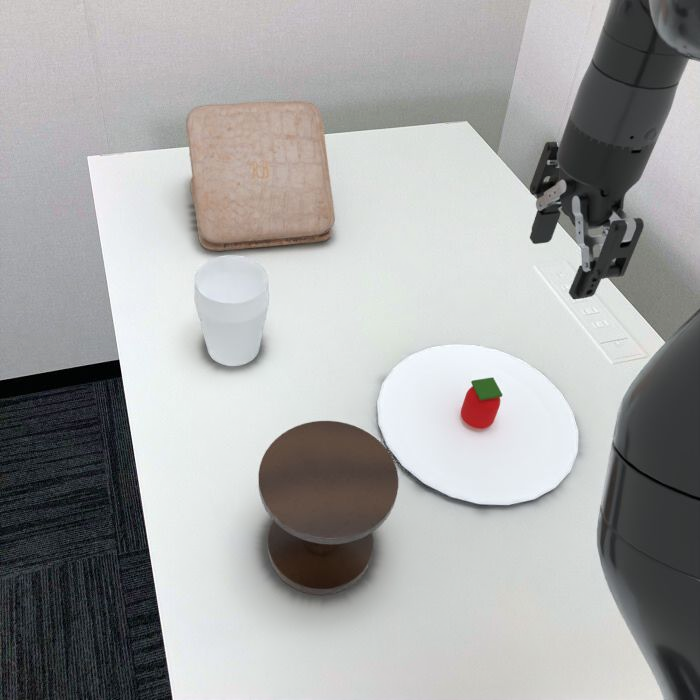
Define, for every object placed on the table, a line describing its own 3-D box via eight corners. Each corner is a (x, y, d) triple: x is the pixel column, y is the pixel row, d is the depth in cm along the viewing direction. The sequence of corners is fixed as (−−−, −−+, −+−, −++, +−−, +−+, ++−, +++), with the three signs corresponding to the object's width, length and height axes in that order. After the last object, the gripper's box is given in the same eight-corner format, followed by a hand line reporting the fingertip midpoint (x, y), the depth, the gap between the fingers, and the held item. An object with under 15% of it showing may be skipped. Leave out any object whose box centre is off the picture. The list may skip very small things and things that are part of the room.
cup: (251, 382, 92) (250, 313, 84) (185, 361, 94) (178, 291, 85) (279, 335, 98) (281, 266, 90) (217, 316, 100) (213, 246, 91)
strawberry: (499, 425, 89) (510, 398, 86) (468, 431, 88) (477, 403, 85) (486, 399, 92) (496, 371, 88) (455, 404, 91) (464, 377, 87)
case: (200, 257, 108) (193, 162, 96) (187, 177, 122) (180, 85, 110) (336, 247, 112) (345, 155, 101) (309, 170, 126) (314, 81, 115)
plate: (397, 519, 81) (399, 513, 80) (360, 353, 97) (361, 347, 96) (608, 500, 85) (612, 494, 84) (537, 344, 102) (540, 338, 101)
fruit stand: (397, 588, 75) (417, 522, 66) (272, 618, 72) (274, 552, 62) (361, 483, 83) (374, 411, 74) (247, 504, 80) (246, 432, 71)
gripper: (538, 81, 66) (495, 228, 77) (621, 170, 56) (558, 322, 68) (610, 77, 67) (558, 221, 79) (702, 162, 58) (628, 311, 70)
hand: (558, 267), depth 74 cm, fingers open, 8 cm apart
